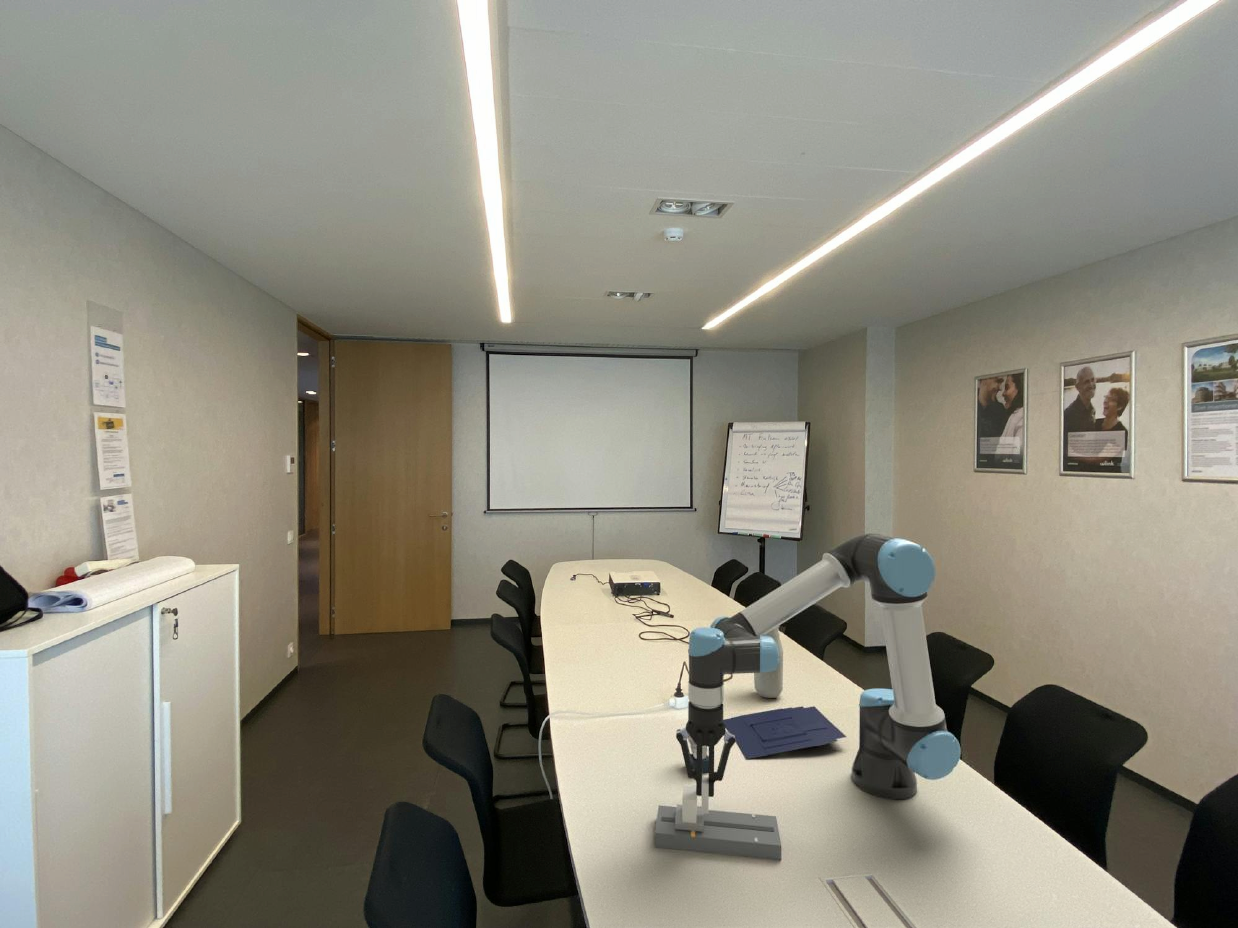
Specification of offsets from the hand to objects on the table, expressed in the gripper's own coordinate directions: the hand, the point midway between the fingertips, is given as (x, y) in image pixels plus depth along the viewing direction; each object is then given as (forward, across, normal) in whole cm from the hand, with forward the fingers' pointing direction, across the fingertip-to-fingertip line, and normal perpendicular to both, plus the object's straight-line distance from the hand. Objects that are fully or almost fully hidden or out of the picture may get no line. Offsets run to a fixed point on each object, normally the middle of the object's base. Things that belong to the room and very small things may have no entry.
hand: (704, 809), depth 129 cm
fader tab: (+3, +3, 0) cm, 4 cm away
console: (+6, -3, 0) cm, 7 cm away
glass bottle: (+6, -21, -80) cm, 82 cm away
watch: (+6, +2, -28) cm, 29 cm away
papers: (+6, -22, -50) cm, 55 cm away
